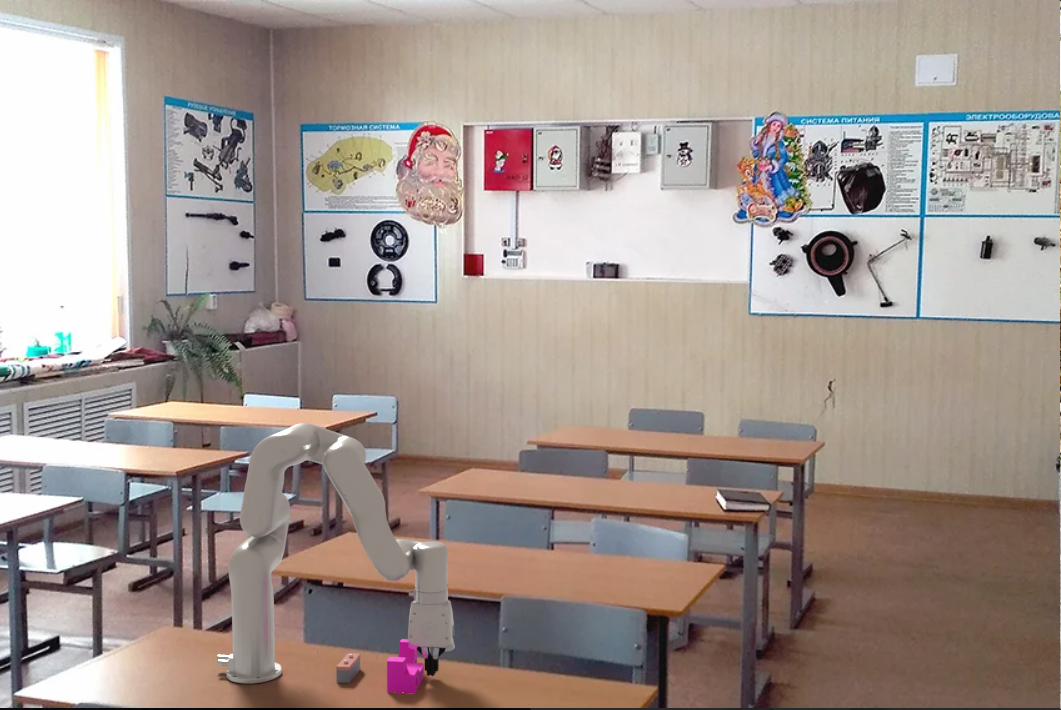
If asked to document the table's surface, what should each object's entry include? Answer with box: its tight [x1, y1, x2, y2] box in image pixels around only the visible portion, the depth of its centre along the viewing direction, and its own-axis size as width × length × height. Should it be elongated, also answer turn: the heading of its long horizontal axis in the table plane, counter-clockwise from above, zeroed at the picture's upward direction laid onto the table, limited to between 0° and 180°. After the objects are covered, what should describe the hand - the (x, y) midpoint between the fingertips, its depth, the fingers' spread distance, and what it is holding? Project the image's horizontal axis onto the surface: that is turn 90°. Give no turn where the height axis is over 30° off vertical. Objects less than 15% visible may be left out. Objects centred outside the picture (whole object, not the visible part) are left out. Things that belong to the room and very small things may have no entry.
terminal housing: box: [335, 652, 361, 684], centre depth 270 cm, size 3×9×4 cm, turn 172°
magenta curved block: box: [386, 638, 425, 694], centre depth 267 cm, size 15×6×8 cm, turn 174°
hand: (431, 673), depth 268 cm, fingers closed
